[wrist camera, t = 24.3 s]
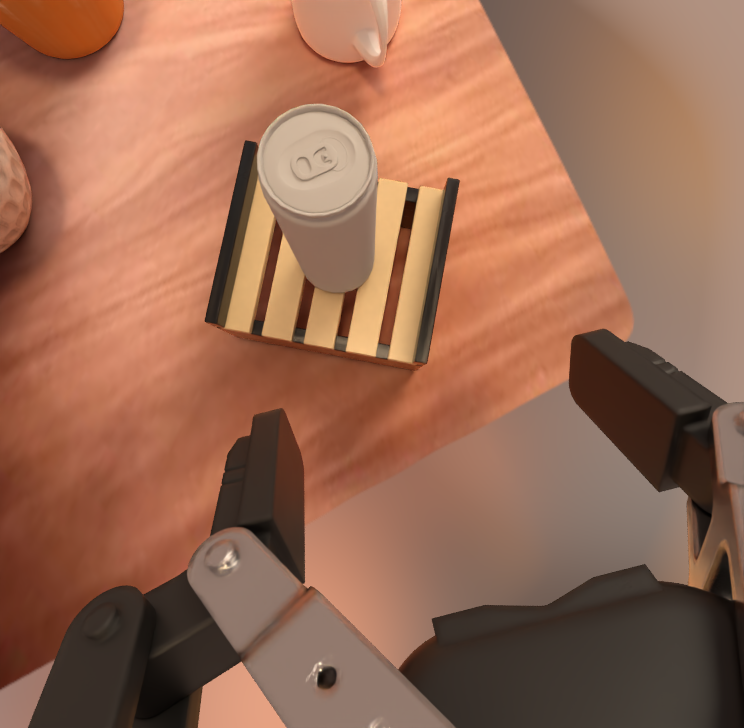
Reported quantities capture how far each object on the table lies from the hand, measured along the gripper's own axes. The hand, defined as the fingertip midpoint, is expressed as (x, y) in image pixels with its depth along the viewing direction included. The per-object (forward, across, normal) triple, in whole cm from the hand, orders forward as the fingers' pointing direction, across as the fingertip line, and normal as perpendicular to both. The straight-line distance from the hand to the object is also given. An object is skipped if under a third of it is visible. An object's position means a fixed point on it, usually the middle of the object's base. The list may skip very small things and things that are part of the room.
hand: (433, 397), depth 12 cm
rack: (+23, -2, -4) cm, 23 cm away
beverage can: (+19, -2, -2) cm, 19 cm away
